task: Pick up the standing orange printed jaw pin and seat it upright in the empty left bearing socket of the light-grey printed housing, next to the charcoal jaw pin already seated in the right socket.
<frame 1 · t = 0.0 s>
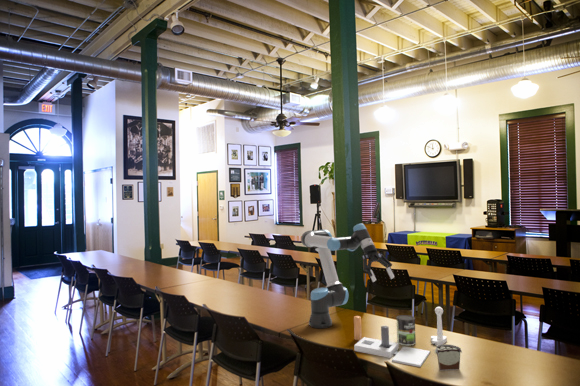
hand: (383, 279, 220), 36 cm above the table, tool tilted 35°, fingers open, 13 cm apart
food container: (446, 367, 186), on the table
joystick: (437, 342, 219), on the table
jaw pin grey: (385, 351, 208), resting in housing
housing: (376, 349, 211), on the table
lid: (411, 357, 199), on the table
jaw pin orange: (358, 339, 227), on the table
coffee can: (406, 342, 220), on the table
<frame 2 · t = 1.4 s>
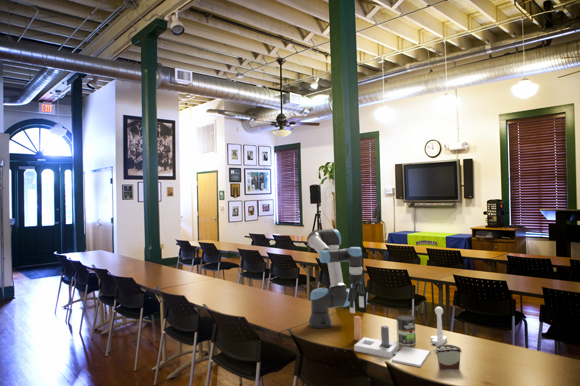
hand: (357, 310, 227), 17 cm above the table, tool pointing down, fingers open, 13 cm apart
nothing on the table moved.
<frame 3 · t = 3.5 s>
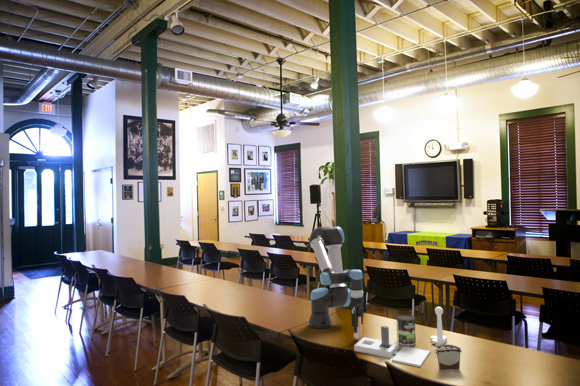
hand: (358, 336, 227), 2 cm above the table, tool pointing down, fingers closed on jaw pin orange, 4 cm apart
jaw pin orange: (358, 339, 227), on the table, touching gripper
everything else where it was.
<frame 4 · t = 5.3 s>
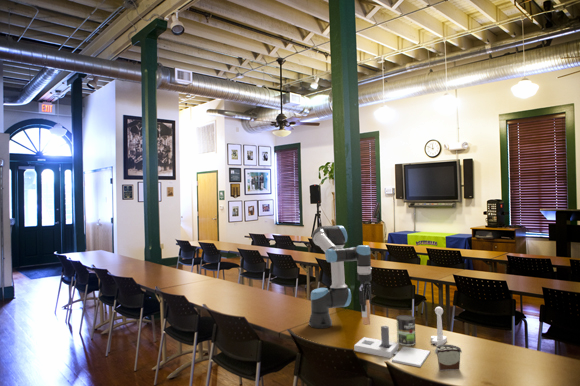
hand: (366, 315, 214), 17 cm above the table, tool pointing down, fingers closed on jaw pin orange, 4 cm apart
jaw pin orange: (366, 323, 214), point 13 cm above the table, touching gripper
everything else where it was.
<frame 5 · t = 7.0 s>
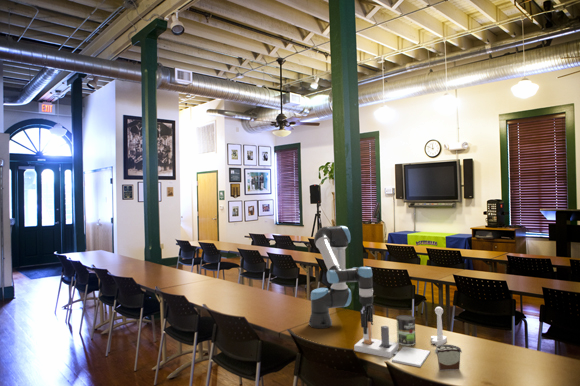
hand: (367, 338, 213), 6 cm above the table, tool pointing down, fingers closed on jaw pin orange, 4 cm apart
jaw pin orange: (368, 346, 213), point 1 cm above the table, touching gripper
everything else where it was.
when the fingers open (4 cm above the table, at t = 7.5 s): jaw pin orange stays where it is, resting in housing.
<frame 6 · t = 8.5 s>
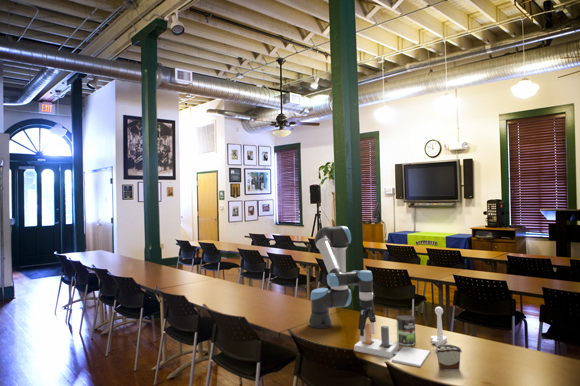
hand: (367, 337, 213), 6 cm above the table, tool pointing down, fingers open, 13 cm apart
jaw pin orange: (368, 348, 213), resting in housing
everything else where it was.
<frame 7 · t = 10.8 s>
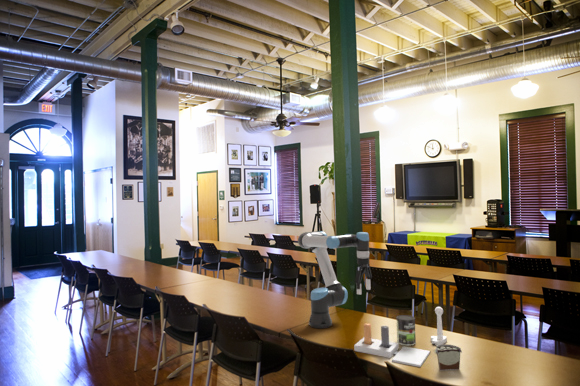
hand: (363, 291, 239), 25 cm above the table, tool pointing down, fingers open, 13 cm apart
nothing on the table moved.
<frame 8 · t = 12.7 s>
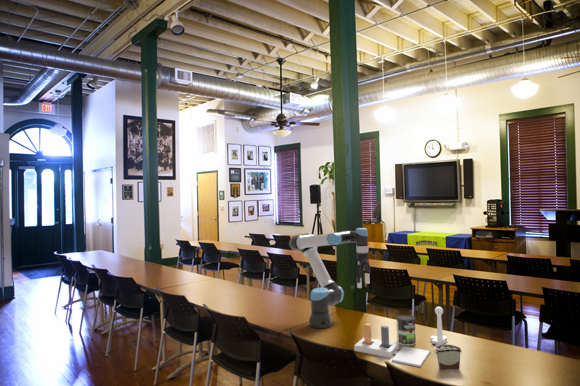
hand: (363, 285, 247), 27 cm above the table, tool pointing down, fingers open, 13 cm apart
nothing on the table moved.
at the end: jaw pin orange 0.1 cm from the target spot on the housing, point 0.0 cm above the housing's base; jaw pin orange tilted 0°; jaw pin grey moved 0.0 cm from its start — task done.
